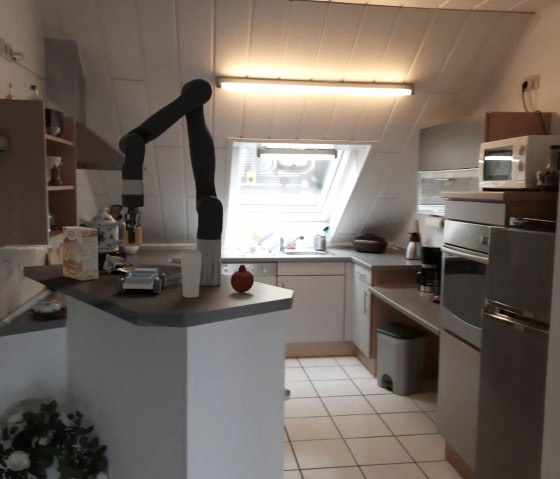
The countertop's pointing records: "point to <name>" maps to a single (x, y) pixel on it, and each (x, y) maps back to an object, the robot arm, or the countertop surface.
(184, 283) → the drinking glass
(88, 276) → the coffeecake box
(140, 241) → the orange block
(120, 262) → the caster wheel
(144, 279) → the chassis
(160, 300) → the countertop surface
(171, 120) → the robot arm
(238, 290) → the fruit
